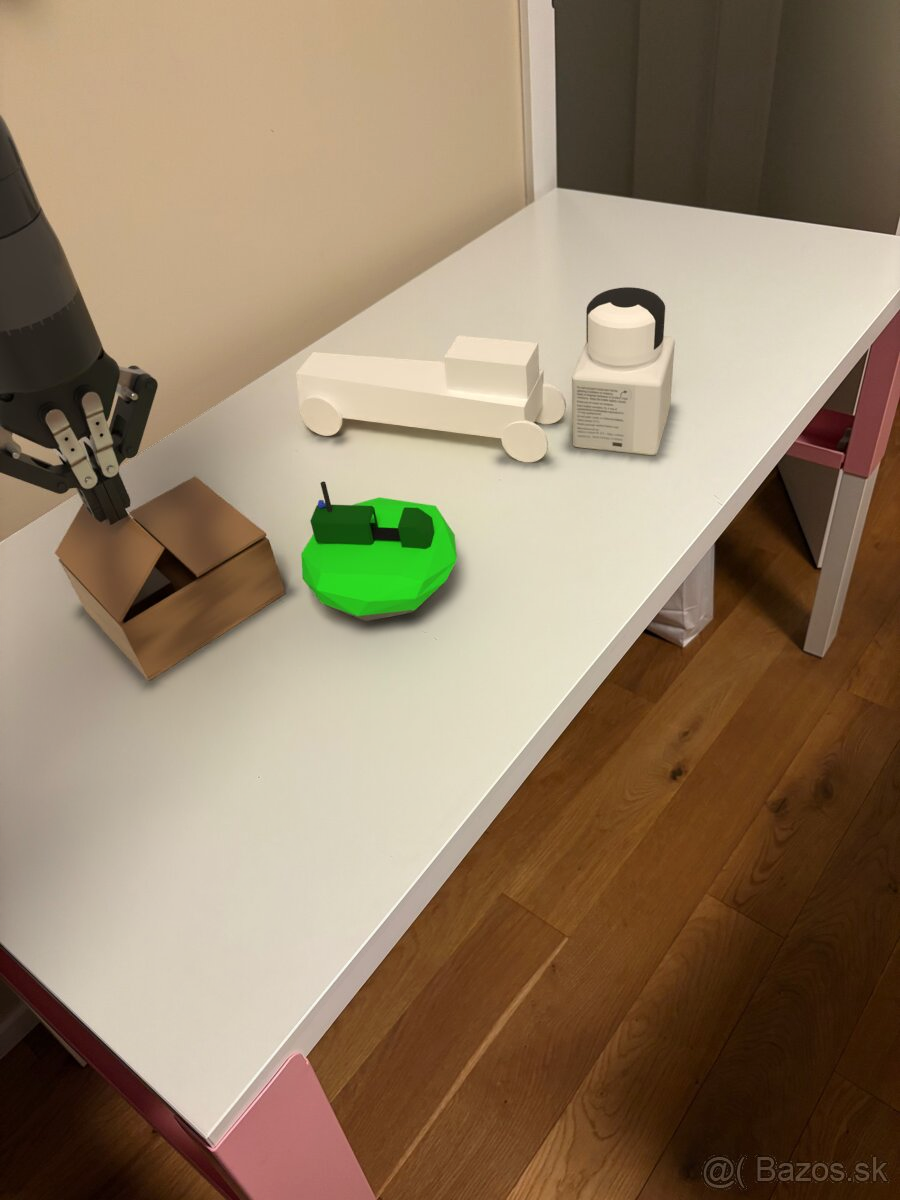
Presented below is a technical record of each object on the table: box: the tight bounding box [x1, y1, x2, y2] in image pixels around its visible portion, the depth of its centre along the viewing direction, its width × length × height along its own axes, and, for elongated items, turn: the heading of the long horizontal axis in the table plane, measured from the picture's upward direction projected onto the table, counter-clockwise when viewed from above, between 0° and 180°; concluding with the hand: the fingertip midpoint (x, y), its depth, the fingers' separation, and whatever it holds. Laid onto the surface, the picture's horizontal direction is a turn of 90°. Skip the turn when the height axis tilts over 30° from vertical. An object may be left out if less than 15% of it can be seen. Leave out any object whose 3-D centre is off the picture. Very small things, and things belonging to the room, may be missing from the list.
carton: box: [58, 475, 287, 682], centre depth 75 cm, size 13×11×7 cm
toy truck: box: [295, 335, 567, 463], centre depth 88 cm, size 25×7×9 cm, turn 70°
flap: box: [54, 502, 164, 622], centre depth 70 cm, size 6×11×1 cm
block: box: [122, 566, 176, 623], centre depth 75 cm, size 4×4×4 cm
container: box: [571, 286, 676, 456], centre depth 84 cm, size 8×8×13 cm
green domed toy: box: [300, 481, 458, 622], centre depth 72 cm, size 12×12×11 cm
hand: (114, 515), depth 69 cm, fingers closed
